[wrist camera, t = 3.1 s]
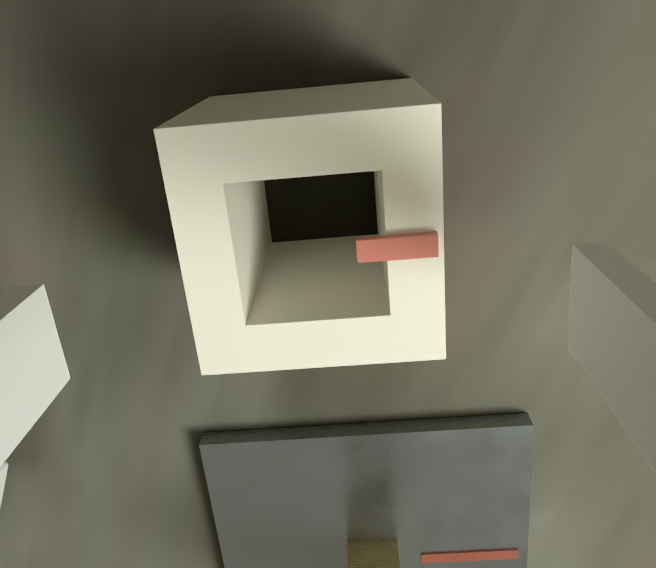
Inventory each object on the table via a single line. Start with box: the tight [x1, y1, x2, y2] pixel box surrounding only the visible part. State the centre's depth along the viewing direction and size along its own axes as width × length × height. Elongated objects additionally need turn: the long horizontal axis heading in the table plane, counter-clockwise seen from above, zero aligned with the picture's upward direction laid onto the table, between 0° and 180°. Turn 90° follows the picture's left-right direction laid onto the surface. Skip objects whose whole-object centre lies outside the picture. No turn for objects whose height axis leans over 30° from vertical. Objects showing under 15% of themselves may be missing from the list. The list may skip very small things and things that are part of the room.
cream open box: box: [153, 78, 446, 375], centre depth 22 cm, size 8×8×8 cm
